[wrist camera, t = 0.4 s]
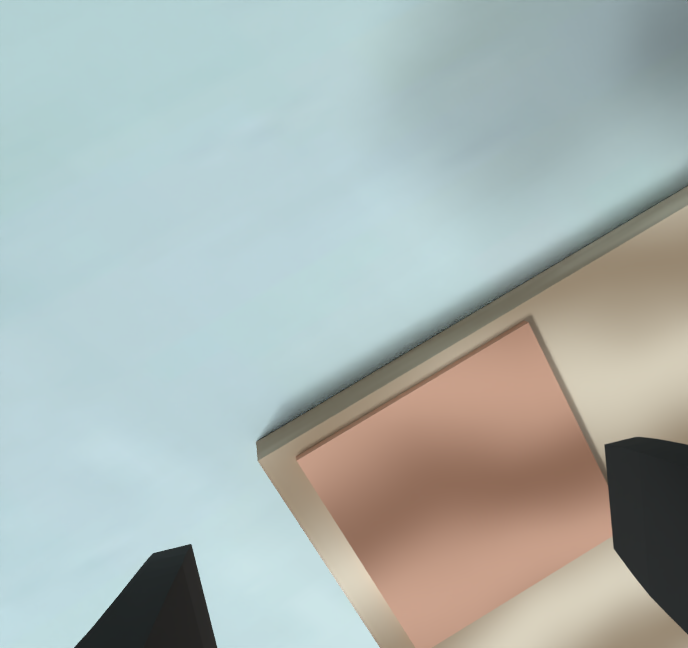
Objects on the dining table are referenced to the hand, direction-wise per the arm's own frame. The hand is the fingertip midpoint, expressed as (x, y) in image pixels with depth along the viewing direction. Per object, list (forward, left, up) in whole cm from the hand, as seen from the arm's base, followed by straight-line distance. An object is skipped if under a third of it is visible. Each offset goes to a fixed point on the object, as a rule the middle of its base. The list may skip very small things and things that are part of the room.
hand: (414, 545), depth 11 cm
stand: (-9, -7, -10) cm, 15 cm away
